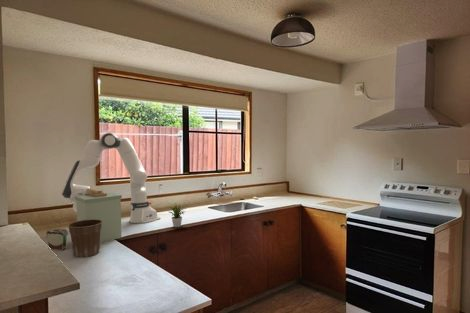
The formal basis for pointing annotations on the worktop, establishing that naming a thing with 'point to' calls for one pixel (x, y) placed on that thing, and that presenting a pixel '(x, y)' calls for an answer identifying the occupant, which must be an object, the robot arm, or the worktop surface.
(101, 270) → the worktop surface
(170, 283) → the worktop surface
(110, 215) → the toolbox
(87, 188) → the tan bar
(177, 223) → the house plant
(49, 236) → the food container
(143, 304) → the worktop surface
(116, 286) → the worktop surface
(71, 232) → the plant pot
